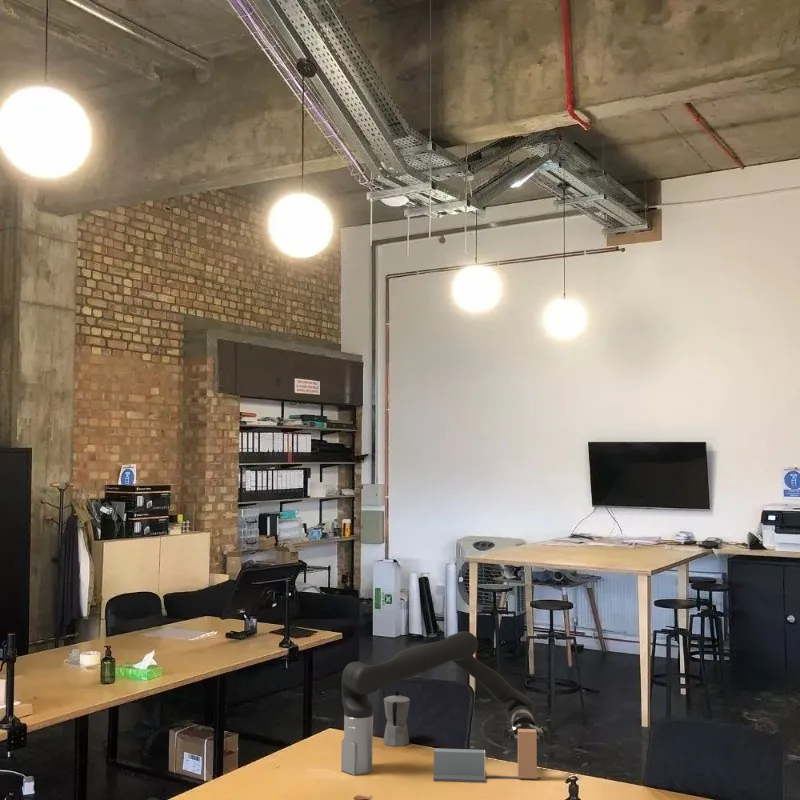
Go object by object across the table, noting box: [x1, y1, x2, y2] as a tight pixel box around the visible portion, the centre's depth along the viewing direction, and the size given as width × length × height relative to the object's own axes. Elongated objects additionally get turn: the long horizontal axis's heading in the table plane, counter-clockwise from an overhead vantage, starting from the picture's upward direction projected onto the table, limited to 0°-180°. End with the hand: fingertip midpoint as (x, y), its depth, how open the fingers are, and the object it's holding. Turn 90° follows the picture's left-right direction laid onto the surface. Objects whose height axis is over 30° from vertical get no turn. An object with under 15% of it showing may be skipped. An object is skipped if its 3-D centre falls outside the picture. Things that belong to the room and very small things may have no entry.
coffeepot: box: [383, 689, 411, 748], centre depth 302 cm, size 15×9×18 cm, turn 175°
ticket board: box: [432, 747, 542, 784], centre depth 269 cm, size 34×10×8 cm, turn 86°
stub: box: [517, 729, 538, 780], centre depth 269 cm, size 6×3×14 cm, turn 86°
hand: (527, 738), depth 270 cm, fingers open, 8 cm apart
